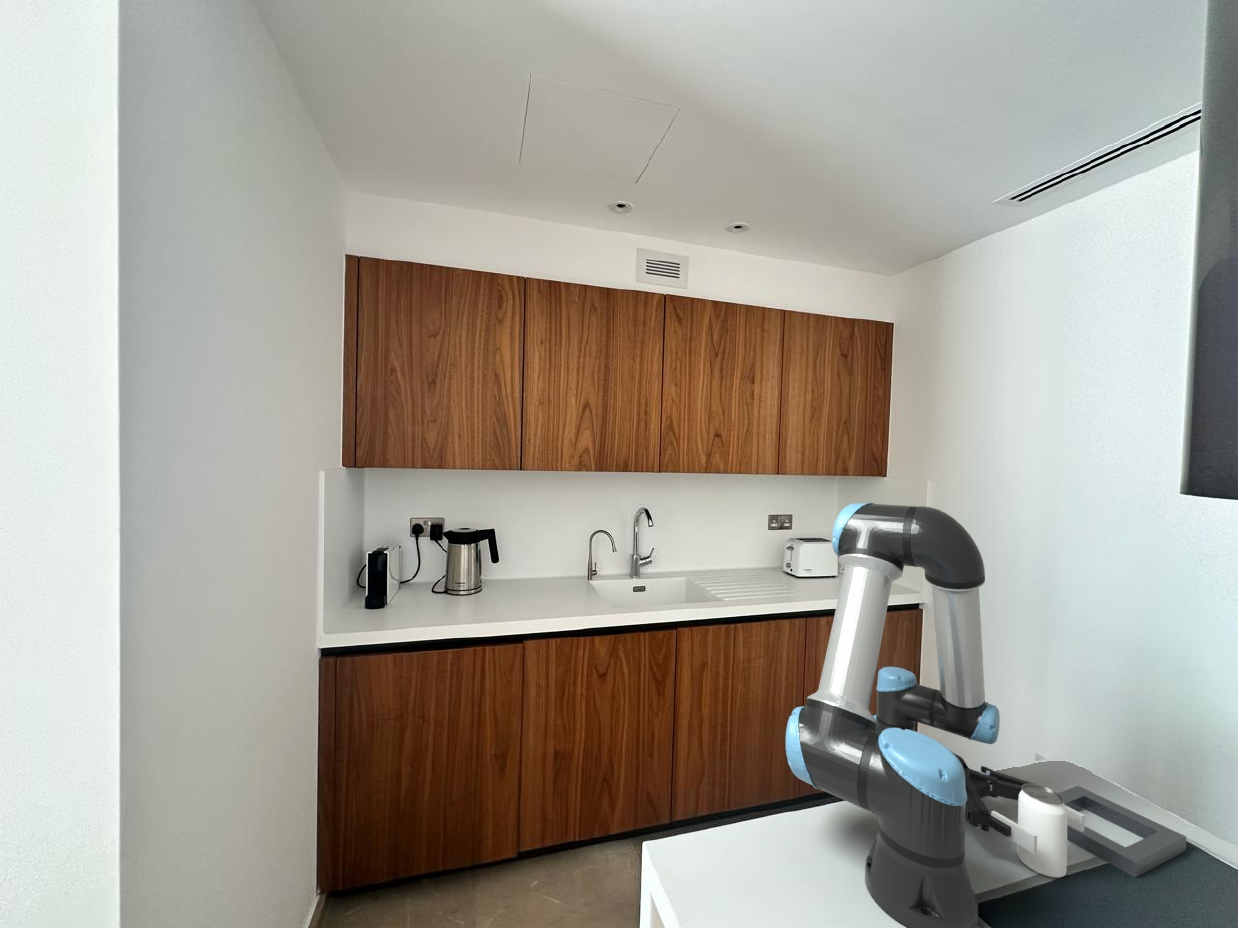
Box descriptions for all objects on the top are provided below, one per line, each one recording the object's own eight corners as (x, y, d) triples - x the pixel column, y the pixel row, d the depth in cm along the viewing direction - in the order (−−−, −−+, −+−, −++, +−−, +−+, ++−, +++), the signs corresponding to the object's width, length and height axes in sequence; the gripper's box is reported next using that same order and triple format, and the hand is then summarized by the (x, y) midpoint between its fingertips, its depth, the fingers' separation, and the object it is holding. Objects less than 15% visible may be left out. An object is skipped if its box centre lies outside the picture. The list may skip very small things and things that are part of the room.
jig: (1135, 877, 86) (1135, 862, 86) (1027, 817, 101) (1027, 804, 101) (1185, 850, 93) (1186, 836, 93) (1077, 797, 107) (1077, 785, 107)
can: (1076, 882, 84) (1077, 808, 85) (1030, 875, 86) (1031, 802, 86) (1051, 854, 91) (1052, 784, 91) (1009, 847, 92) (1010, 779, 92)
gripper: (976, 771, 111) (1101, 837, 91) (893, 798, 101) (1013, 878, 81) (977, 736, 111) (1101, 793, 91) (893, 758, 101) (1014, 829, 81)
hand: (1060, 833), depth 86 cm, fingers open, 13 cm apart
